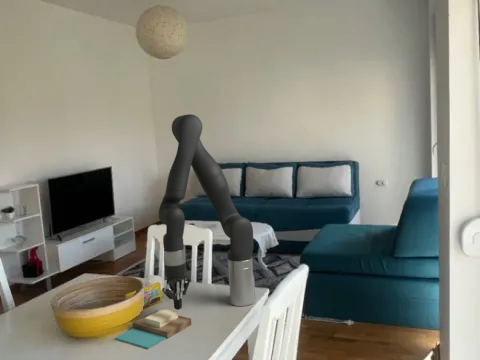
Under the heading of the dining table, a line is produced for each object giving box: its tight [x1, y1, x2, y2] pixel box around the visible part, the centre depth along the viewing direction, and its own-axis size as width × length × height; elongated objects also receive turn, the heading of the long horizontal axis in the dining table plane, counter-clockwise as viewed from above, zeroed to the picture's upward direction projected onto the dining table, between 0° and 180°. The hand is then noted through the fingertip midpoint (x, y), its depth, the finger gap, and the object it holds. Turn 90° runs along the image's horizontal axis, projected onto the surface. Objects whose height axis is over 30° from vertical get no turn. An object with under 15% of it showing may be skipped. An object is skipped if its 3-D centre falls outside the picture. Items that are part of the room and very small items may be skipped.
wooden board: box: [132, 310, 192, 340], centre depth 165 cm, size 12×16×2 cm
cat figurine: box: [144, 274, 166, 298], centre depth 195 cm, size 9×11×12 cm
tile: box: [145, 308, 179, 328], centre depth 165 cm, size 9×7×2 cm
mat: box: [114, 327, 167, 350], centre depth 157 cm, size 8×15×1 cm, turn 56°
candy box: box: [124, 282, 162, 311], centre depth 182 cm, size 16×2×8 cm, turn 143°
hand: (178, 308), depth 172 cm, fingers closed
